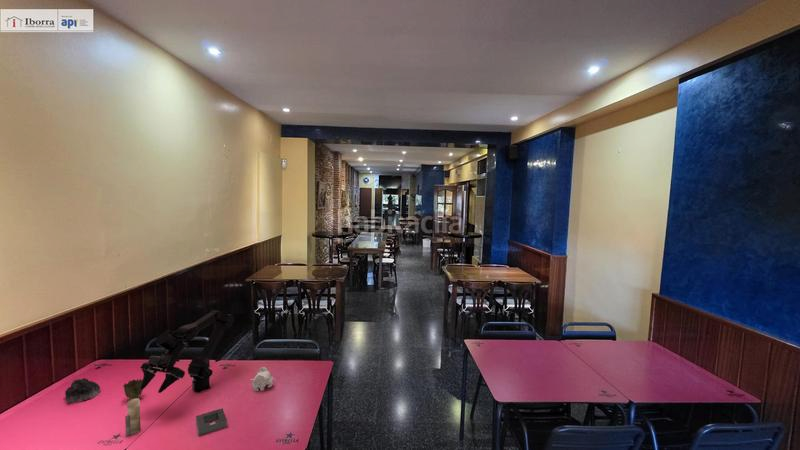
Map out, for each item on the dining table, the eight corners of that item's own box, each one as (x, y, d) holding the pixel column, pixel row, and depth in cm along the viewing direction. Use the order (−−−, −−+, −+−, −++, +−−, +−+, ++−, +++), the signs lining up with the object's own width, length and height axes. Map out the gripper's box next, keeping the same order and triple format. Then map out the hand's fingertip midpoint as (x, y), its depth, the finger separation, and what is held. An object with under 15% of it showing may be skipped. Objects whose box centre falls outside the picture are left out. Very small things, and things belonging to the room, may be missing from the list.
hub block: (196, 422, 146) (195, 415, 145) (222, 414, 151) (222, 407, 151) (198, 436, 137) (198, 428, 137) (226, 427, 143) (226, 419, 143)
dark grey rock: (87, 388, 172) (83, 369, 171) (109, 389, 169) (106, 370, 168) (56, 405, 159) (51, 385, 158) (79, 407, 156) (75, 386, 155)
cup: (133, 405, 157) (132, 387, 157) (119, 402, 159) (119, 385, 158) (148, 396, 165) (147, 379, 164) (135, 394, 166) (134, 377, 166)
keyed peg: (135, 427, 142) (134, 397, 141) (143, 429, 141) (142, 399, 140) (122, 435, 137) (121, 404, 136) (130, 437, 136) (129, 406, 135)
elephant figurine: (273, 392, 170) (273, 374, 169) (247, 394, 168) (247, 376, 167) (277, 382, 179) (277, 365, 179) (252, 384, 177) (252, 367, 177)
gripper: (143, 344, 152) (118, 381, 142) (178, 349, 147) (154, 388, 137) (160, 354, 160) (137, 390, 150) (194, 359, 155) (172, 396, 145)
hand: (150, 391), depth 146 cm, fingers open, 9 cm apart
